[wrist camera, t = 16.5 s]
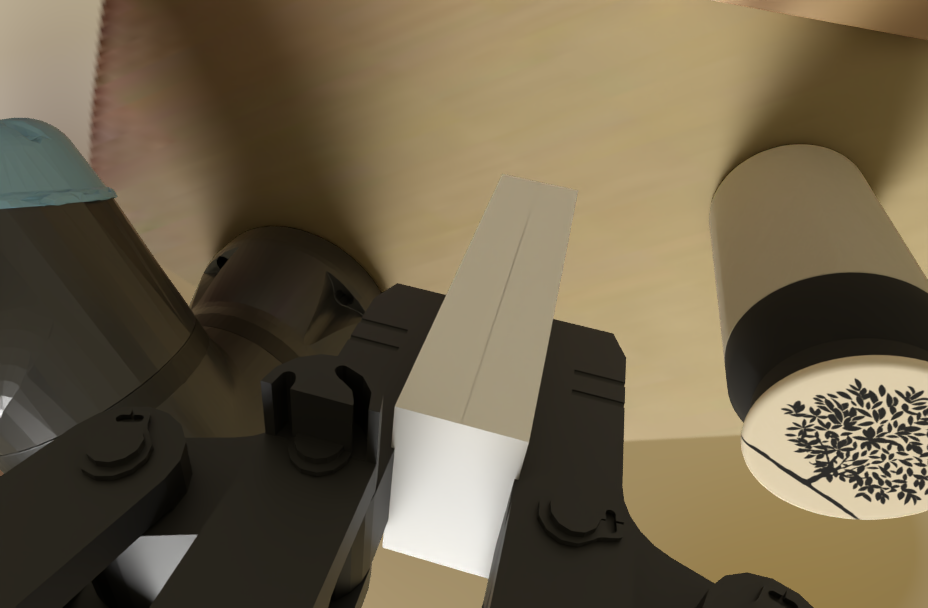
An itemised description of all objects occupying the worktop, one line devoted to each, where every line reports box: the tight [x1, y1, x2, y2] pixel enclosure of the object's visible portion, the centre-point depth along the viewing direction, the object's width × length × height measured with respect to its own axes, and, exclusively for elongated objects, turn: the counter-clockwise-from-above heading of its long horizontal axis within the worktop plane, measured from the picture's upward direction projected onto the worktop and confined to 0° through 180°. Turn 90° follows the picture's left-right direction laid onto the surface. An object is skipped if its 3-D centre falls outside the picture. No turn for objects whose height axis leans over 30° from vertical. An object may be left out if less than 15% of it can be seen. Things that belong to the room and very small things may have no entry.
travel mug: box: [709, 144, 928, 520], centre depth 28 cm, size 8×8×18 cm
